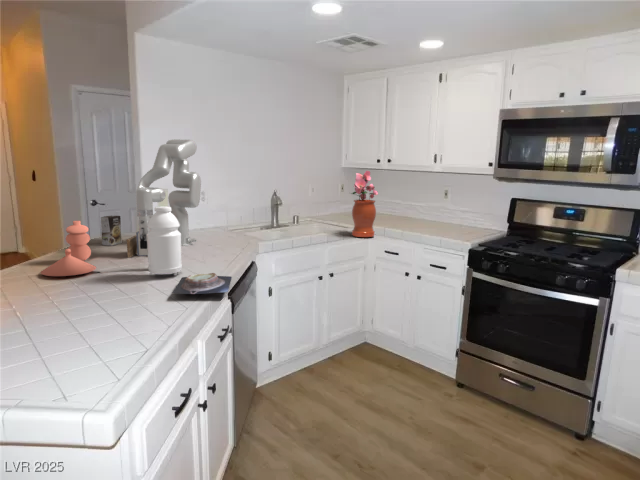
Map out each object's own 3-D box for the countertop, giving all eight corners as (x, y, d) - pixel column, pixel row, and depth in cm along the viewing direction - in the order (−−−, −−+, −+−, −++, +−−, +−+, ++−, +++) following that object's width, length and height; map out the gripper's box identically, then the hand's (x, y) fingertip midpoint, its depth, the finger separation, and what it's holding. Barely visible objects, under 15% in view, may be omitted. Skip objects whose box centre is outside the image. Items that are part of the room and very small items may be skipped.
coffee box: (111, 245, 239) (110, 217, 236) (101, 245, 240) (100, 216, 237) (122, 243, 247) (120, 215, 245) (112, 242, 249) (111, 215, 246)
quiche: (228, 293, 157) (227, 282, 156) (171, 294, 155) (170, 284, 154) (232, 276, 177) (231, 267, 177) (182, 277, 175) (181, 268, 174)
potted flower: (352, 238, 282) (355, 170, 274) (344, 232, 307) (347, 169, 299) (380, 238, 285) (383, 170, 277) (370, 232, 310) (373, 170, 302)
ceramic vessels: (91, 274, 177) (88, 230, 174) (33, 277, 171) (28, 231, 168) (105, 257, 210) (103, 219, 207) (57, 259, 204) (54, 220, 200)
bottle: (188, 268, 191) (186, 206, 186) (168, 275, 178) (165, 209, 173) (162, 265, 195) (160, 204, 190) (141, 272, 182) (137, 207, 177)
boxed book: (156, 253, 220) (155, 231, 218) (153, 255, 215) (152, 232, 213) (140, 253, 220) (139, 230, 217) (137, 255, 215) (136, 232, 212)
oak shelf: (165, 251, 226) (164, 235, 224) (157, 257, 211) (157, 239, 210) (136, 251, 224) (135, 235, 222) (127, 257, 210) (126, 239, 208)
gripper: (147, 215, 206) (149, 250, 209) (157, 211, 223) (158, 243, 226) (131, 215, 205) (133, 250, 208) (142, 211, 222) (143, 243, 225)
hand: (146, 246), depth 217 cm, fingers open, 8 cm apart
